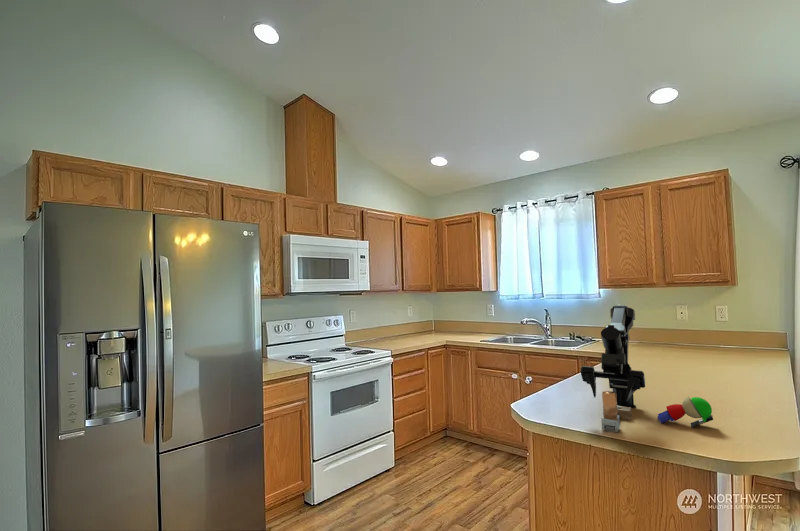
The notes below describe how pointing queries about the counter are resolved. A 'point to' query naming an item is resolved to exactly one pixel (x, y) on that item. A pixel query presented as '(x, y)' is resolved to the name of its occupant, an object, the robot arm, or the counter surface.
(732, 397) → the counter surface
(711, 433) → the counter surface
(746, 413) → the counter surface
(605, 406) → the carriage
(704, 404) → the toy
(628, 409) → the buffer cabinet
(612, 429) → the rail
